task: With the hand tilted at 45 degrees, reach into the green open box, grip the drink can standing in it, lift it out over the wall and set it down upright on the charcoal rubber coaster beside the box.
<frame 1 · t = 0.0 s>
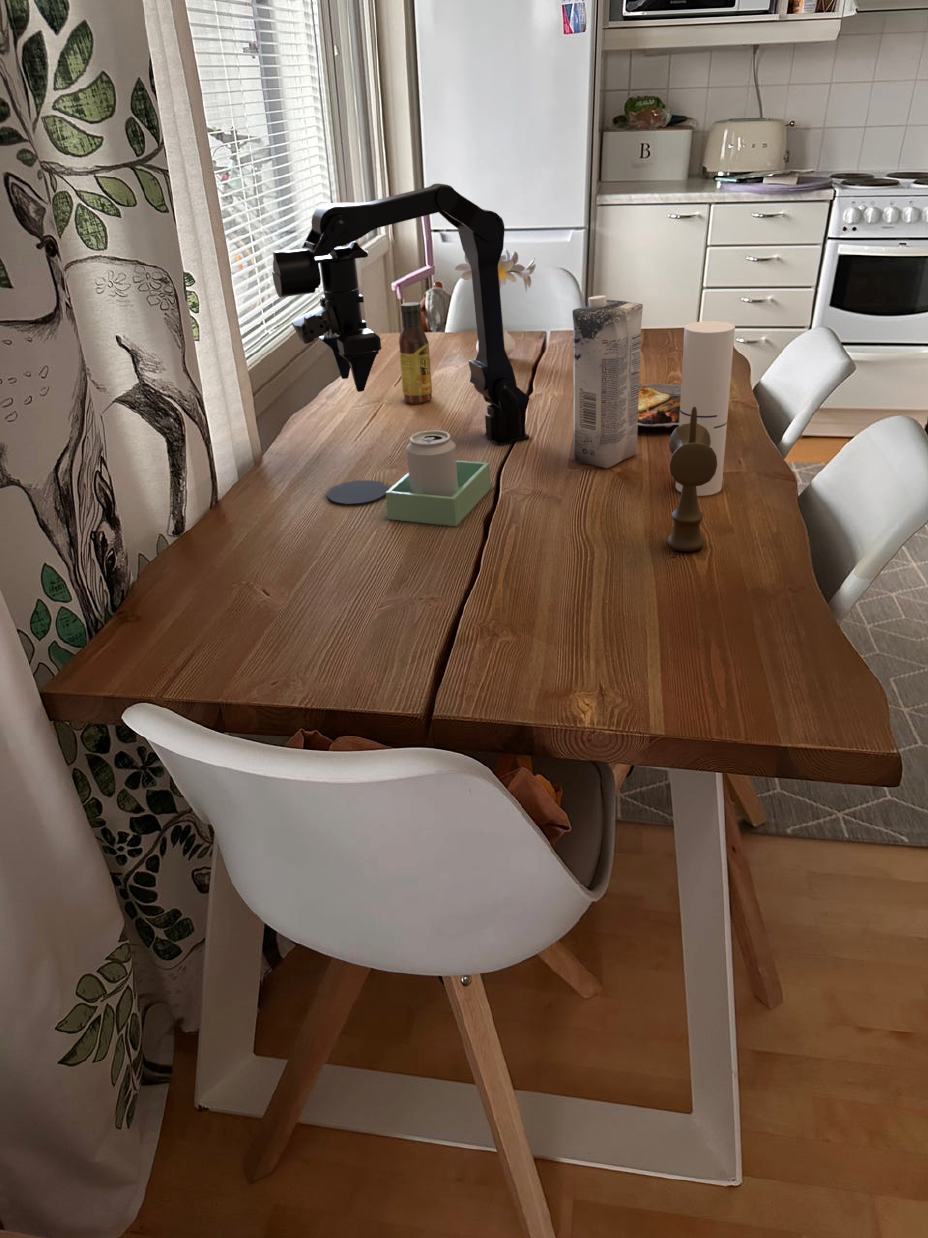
hand: (352, 384, 157), 15 cm above the table, tool pointing down, fingers open, 9 cm apart
cylindrical container: (698, 488, 148), on the table
can: (435, 510, 146), resting in green open box
flower vase: (498, 360, 222), on the table
coaster: (357, 493, 154), on the table
kendama: (685, 547, 130), on the table
juice carton: (605, 459, 161), on the table
food plate: (652, 415, 180), on the table
sauce bottle: (418, 401, 198), on the table
green open box: (441, 503, 148), on the table
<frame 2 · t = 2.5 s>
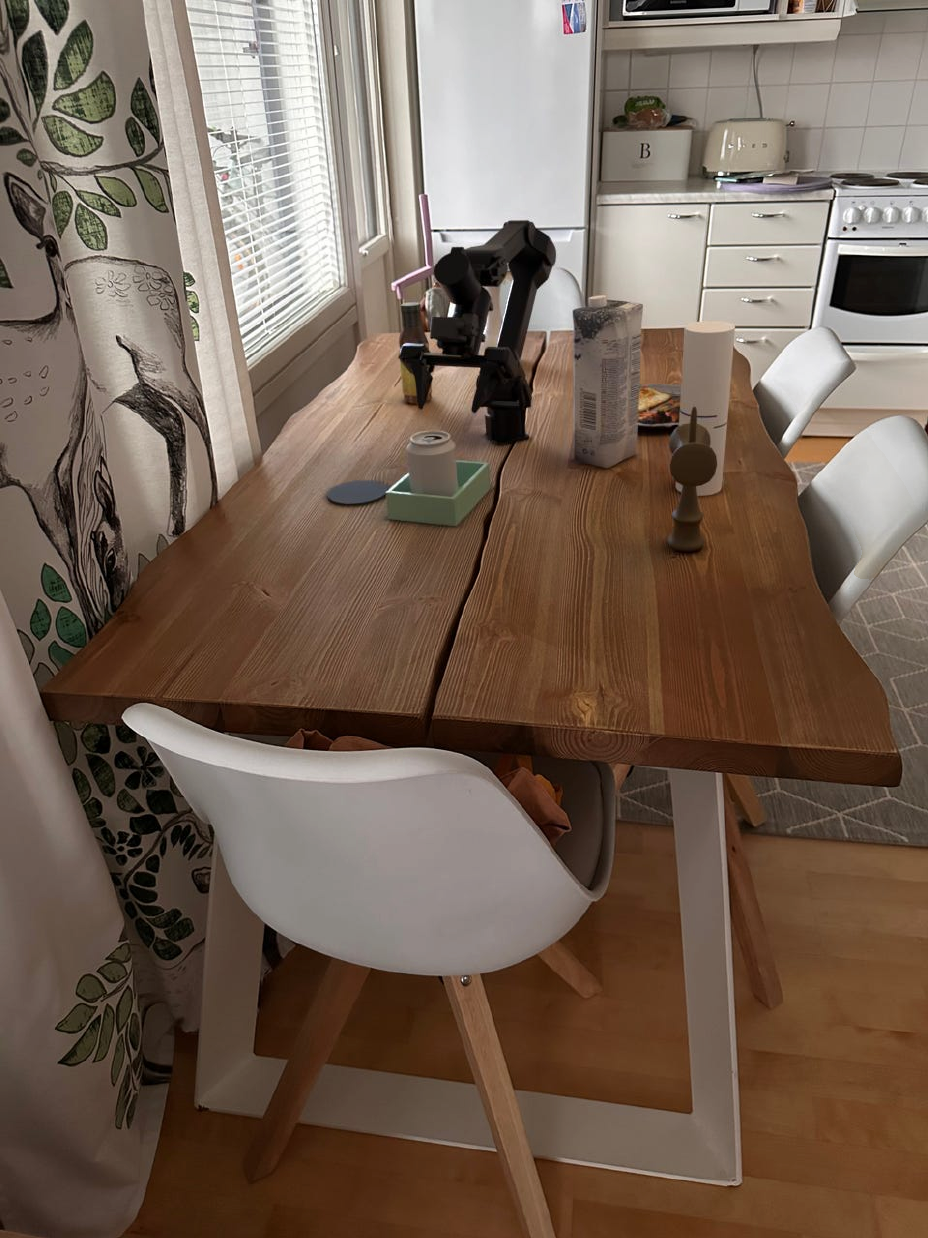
hand: (446, 410, 146), 13 cm above the table, tool tilted 45°, fingers open, 9 cm apart
nothing on the table moved.
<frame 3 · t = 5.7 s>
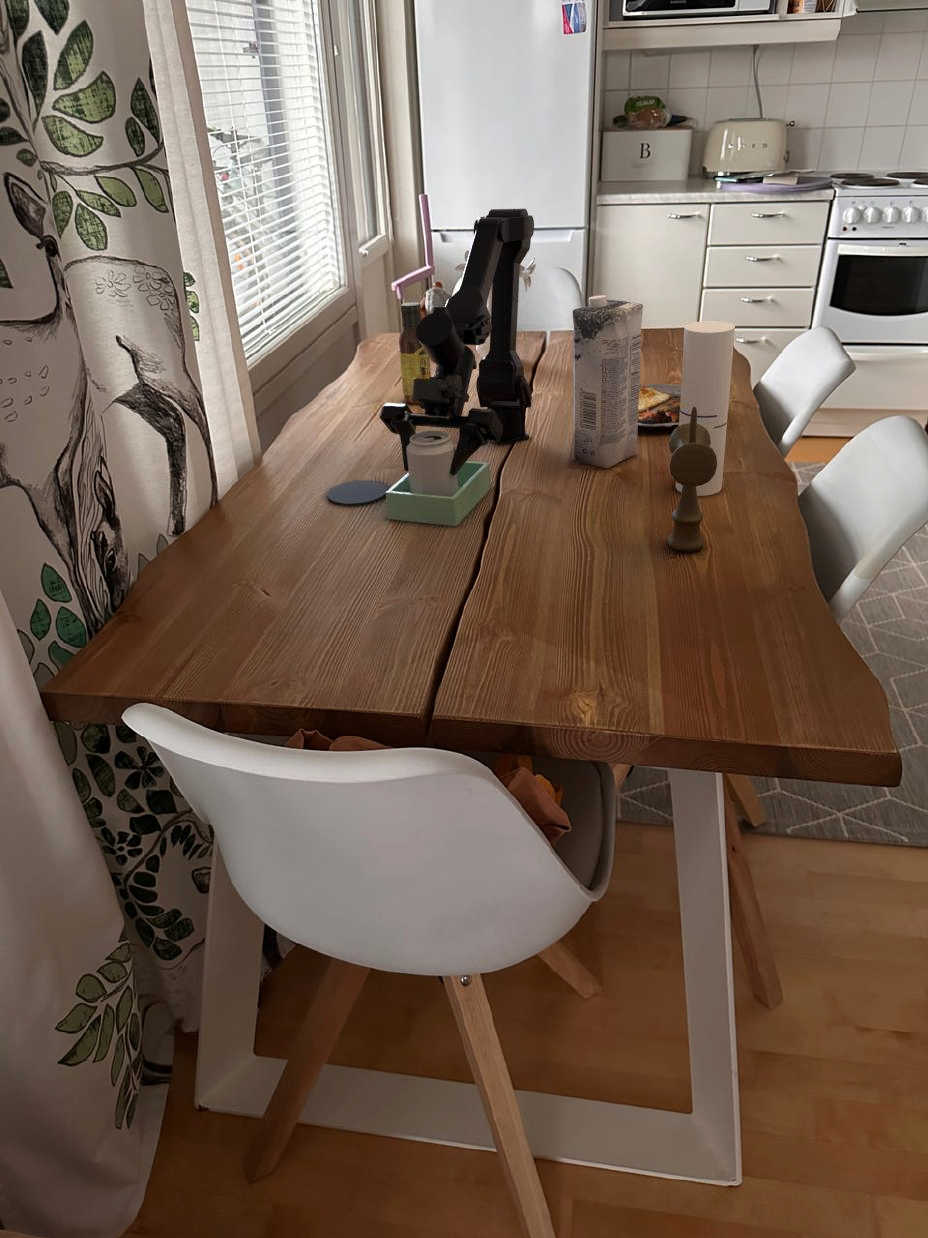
hand: (428, 472, 142), 7 cm above the table, tool tilted 45°, fingers closed on can, 7 cm apart
can: (435, 510, 146), resting in green open box, touching gripper
everything else where it was.
when the fingers open (7 cm above the table, at t = 12.8 s): can stays where it is, resting on coaster.
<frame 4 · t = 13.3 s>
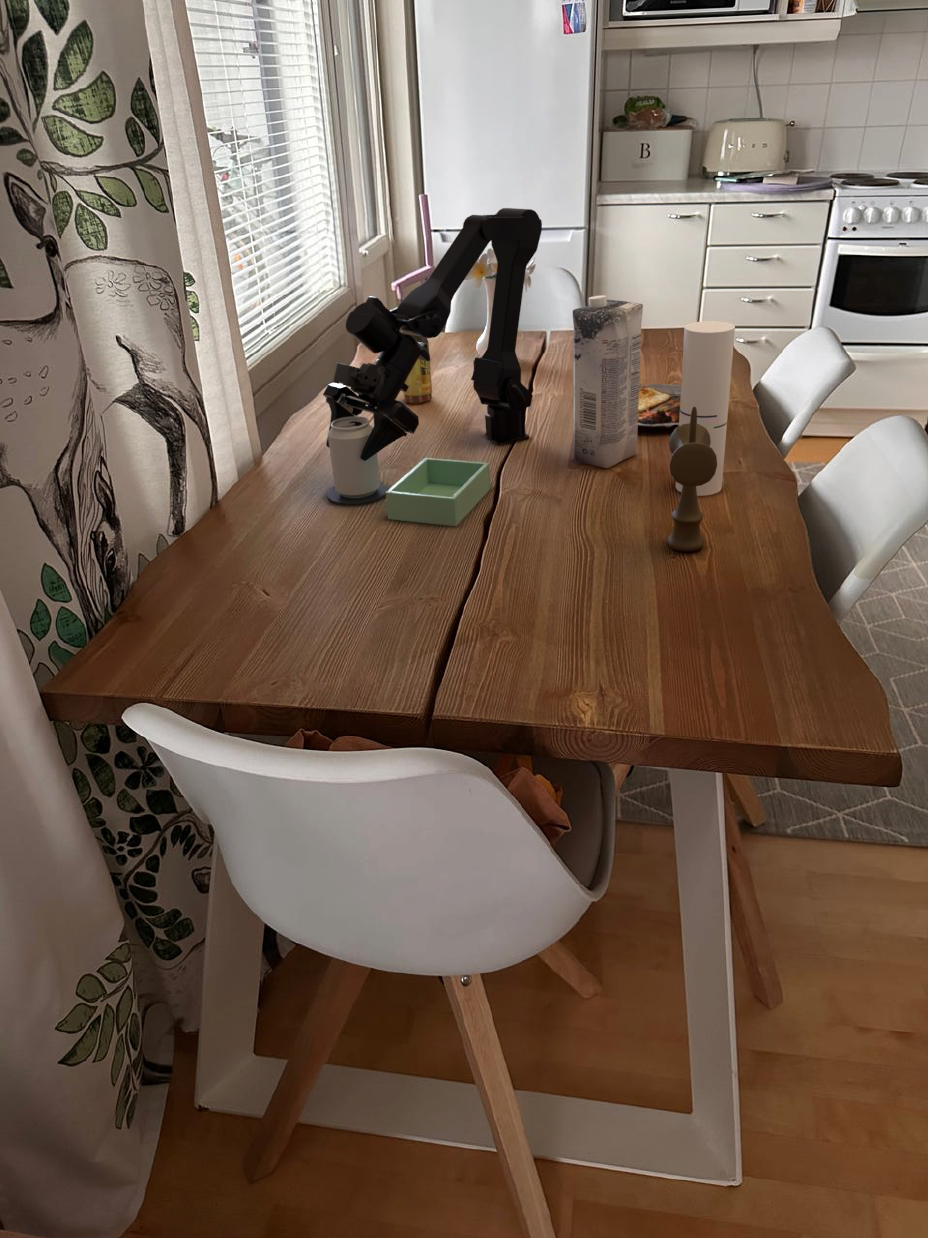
hand: (345, 453, 149), 7 cm above the table, tool tilted 45°, fingers open, 9 cm apart
can: (358, 492, 154), resting on coaster
everything else where it was.
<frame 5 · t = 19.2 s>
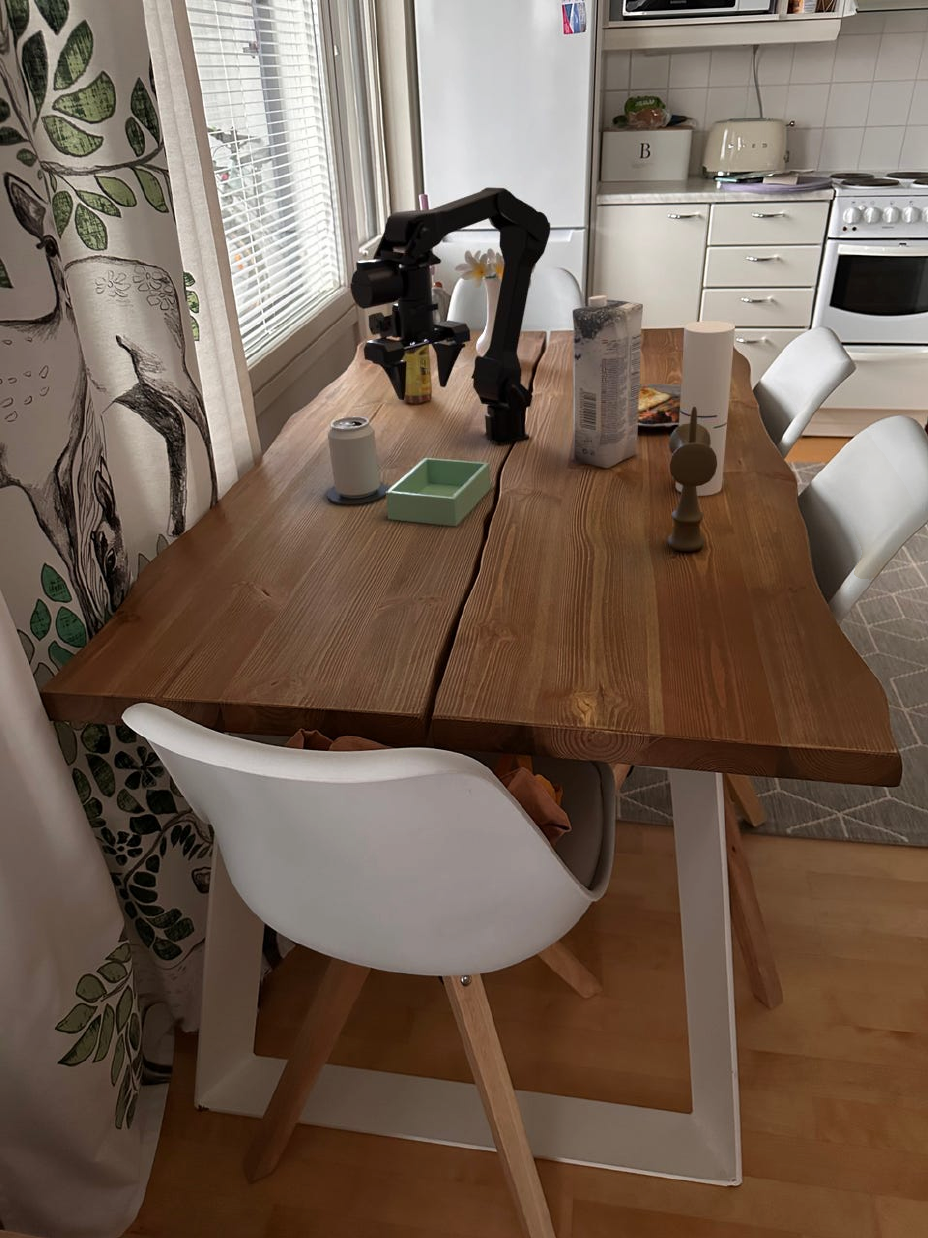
hand: (422, 392, 157), 13 cm above the table, tool pointing down, fingers open, 9 cm apart
nothing on the table moved.
at the end: can 0.2 cm off-centre on the coaster, point 0.2 cm above the coaster's base; can tilted 0°; the gripper is holding nothing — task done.
